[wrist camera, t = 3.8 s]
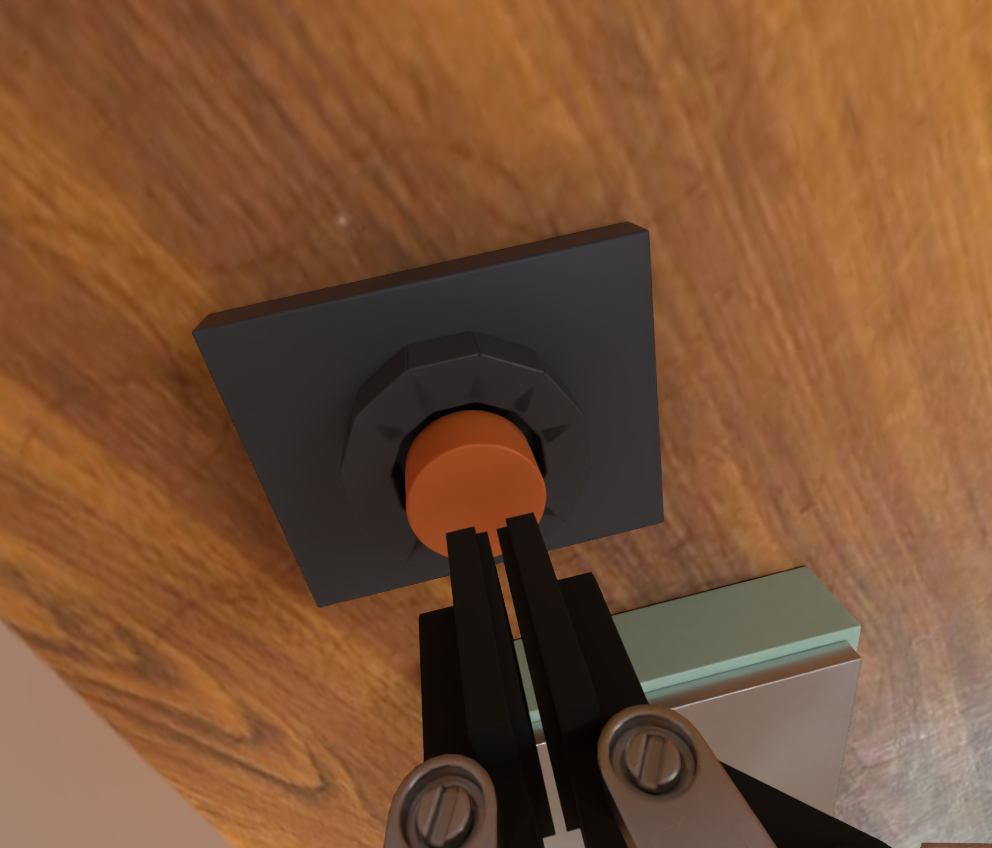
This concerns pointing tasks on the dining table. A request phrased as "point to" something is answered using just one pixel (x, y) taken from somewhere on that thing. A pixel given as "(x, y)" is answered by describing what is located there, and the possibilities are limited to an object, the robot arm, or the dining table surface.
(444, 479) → the tare button
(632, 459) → the block
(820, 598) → the scale
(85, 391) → the dining table surface
